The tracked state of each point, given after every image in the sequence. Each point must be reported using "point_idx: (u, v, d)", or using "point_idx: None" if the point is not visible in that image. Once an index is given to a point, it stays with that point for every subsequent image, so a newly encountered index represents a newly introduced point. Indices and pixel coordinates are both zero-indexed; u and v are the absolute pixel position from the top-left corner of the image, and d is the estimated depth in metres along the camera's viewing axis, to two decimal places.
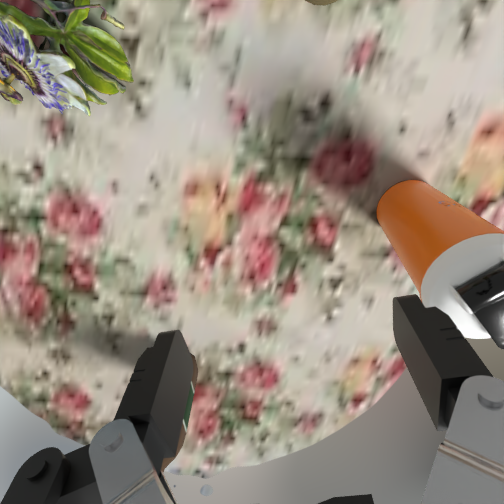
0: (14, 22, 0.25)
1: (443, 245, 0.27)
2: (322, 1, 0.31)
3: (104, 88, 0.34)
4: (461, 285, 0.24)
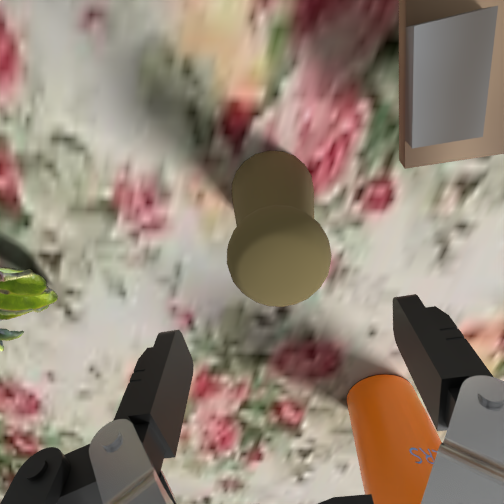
0: None
1: None
2: None
3: None
4: None
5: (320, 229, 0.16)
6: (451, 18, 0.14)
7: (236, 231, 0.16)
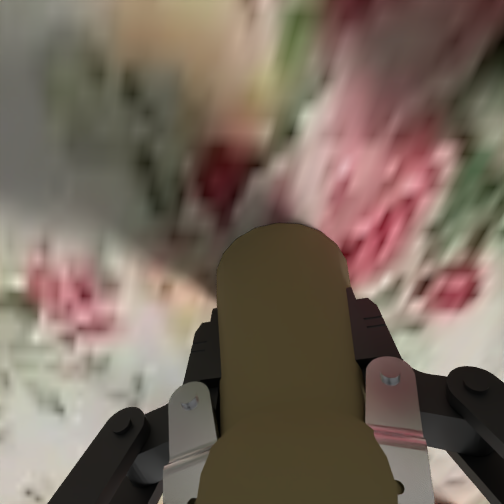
0: None
1: None
2: None
3: None
4: None
5: None
6: None
7: (205, 495, 0.07)
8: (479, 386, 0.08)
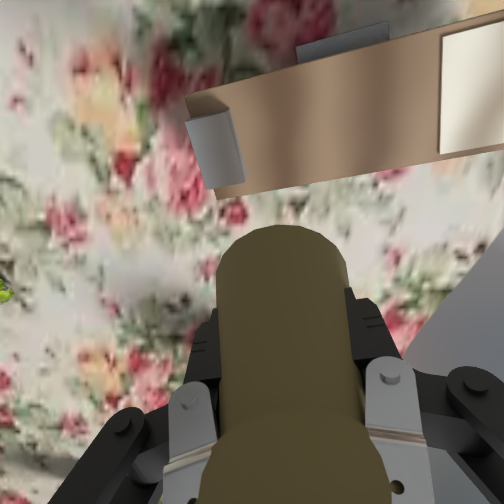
0: None
1: None
2: None
3: None
4: None
5: None
6: (203, 118, 0.23)
7: (204, 496, 0.07)
8: (479, 386, 0.08)
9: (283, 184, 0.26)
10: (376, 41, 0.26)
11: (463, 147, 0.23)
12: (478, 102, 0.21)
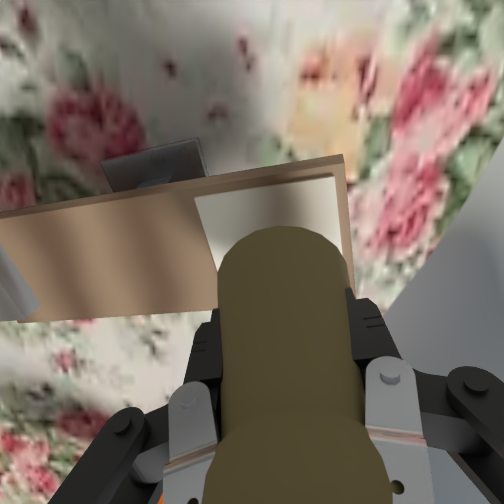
0: None
1: None
2: None
3: None
4: None
5: None
6: None
7: (206, 498, 0.07)
8: (479, 386, 0.08)
9: (80, 315, 0.24)
10: (187, 160, 0.24)
11: None
12: None
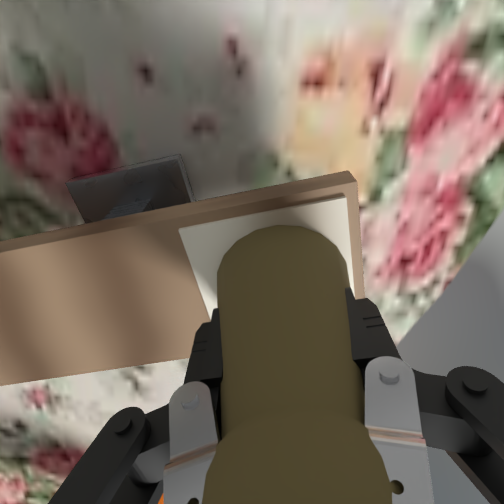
0: None
1: None
2: None
3: None
4: None
5: None
6: None
7: (207, 498, 0.07)
8: (478, 386, 0.08)
9: (35, 376, 0.19)
10: (168, 180, 0.20)
11: None
12: None
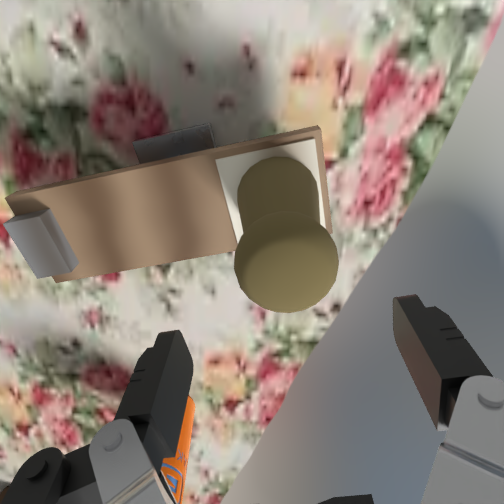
0: None
1: None
2: None
3: None
4: None
5: (328, 235, 0.16)
6: (19, 221, 0.25)
7: (244, 237, 0.16)
8: None
9: (113, 269, 0.29)
10: (201, 140, 0.30)
11: None
12: None
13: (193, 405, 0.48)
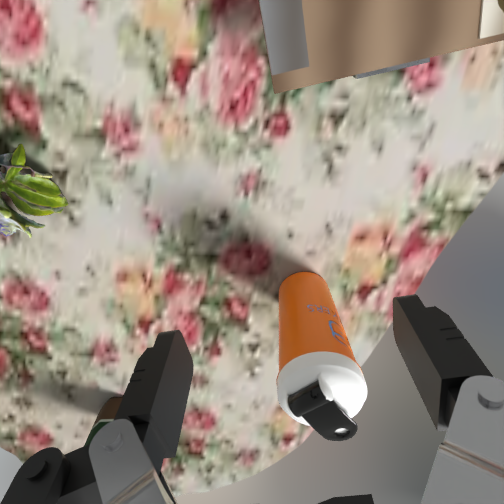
0: None
1: (291, 355, 0.35)
2: None
3: (43, 212, 0.41)
4: (292, 394, 0.32)
5: None
6: None
7: None
8: None
9: (339, 74, 0.29)
10: None
11: (499, 31, 0.27)
12: None
13: None
